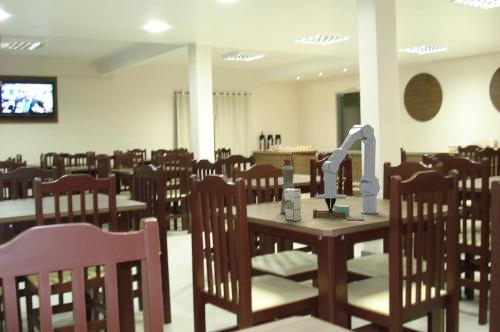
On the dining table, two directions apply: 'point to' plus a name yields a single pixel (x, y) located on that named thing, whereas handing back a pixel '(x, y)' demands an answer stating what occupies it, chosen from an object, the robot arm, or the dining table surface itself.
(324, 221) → the dining table surface
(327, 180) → the robot arm
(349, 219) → the mat
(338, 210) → the block
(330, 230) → the dining table surface
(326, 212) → the trough
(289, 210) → the syrup box
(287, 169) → the bottle
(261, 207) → the dining table surface
